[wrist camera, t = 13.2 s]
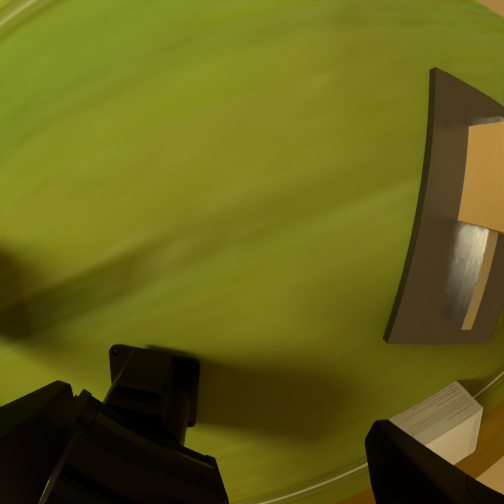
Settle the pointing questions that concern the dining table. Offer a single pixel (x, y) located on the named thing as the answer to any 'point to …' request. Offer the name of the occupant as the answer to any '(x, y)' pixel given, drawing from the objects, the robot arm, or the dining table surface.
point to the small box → (444, 422)
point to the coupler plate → (449, 233)
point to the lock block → (484, 178)
